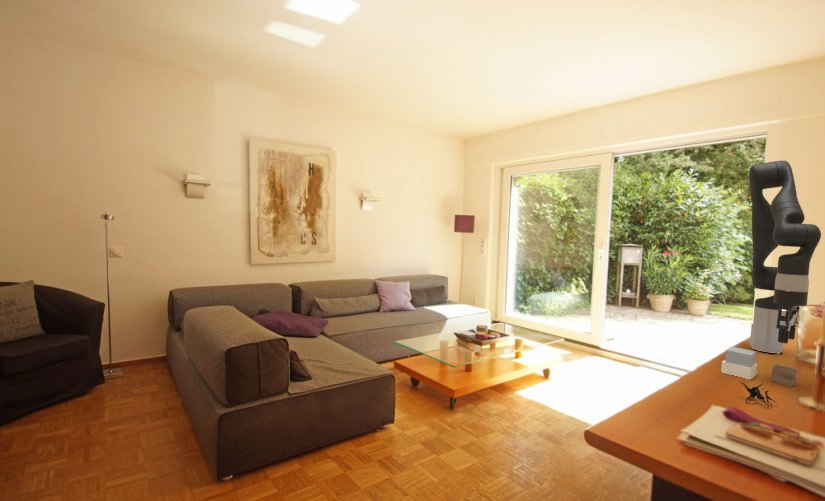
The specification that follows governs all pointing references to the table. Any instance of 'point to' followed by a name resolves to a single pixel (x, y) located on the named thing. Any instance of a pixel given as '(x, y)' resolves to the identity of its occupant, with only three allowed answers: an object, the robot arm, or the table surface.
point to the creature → (757, 394)
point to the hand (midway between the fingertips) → (786, 340)
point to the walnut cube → (784, 375)
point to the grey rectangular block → (740, 356)
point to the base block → (739, 370)
